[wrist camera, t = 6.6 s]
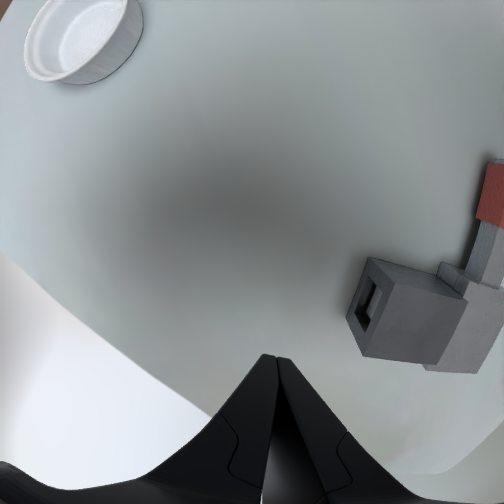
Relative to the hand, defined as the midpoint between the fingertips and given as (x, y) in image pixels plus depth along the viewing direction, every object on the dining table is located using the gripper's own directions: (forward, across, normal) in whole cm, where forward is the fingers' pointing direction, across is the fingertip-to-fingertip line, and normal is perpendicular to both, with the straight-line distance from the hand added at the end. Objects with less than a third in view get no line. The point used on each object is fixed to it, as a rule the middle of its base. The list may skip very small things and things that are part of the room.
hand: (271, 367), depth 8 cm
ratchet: (+12, -13, -4) cm, 18 cm away
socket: (+12, -10, +1) cm, 15 cm away
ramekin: (+12, +16, -13) cm, 24 cm away
